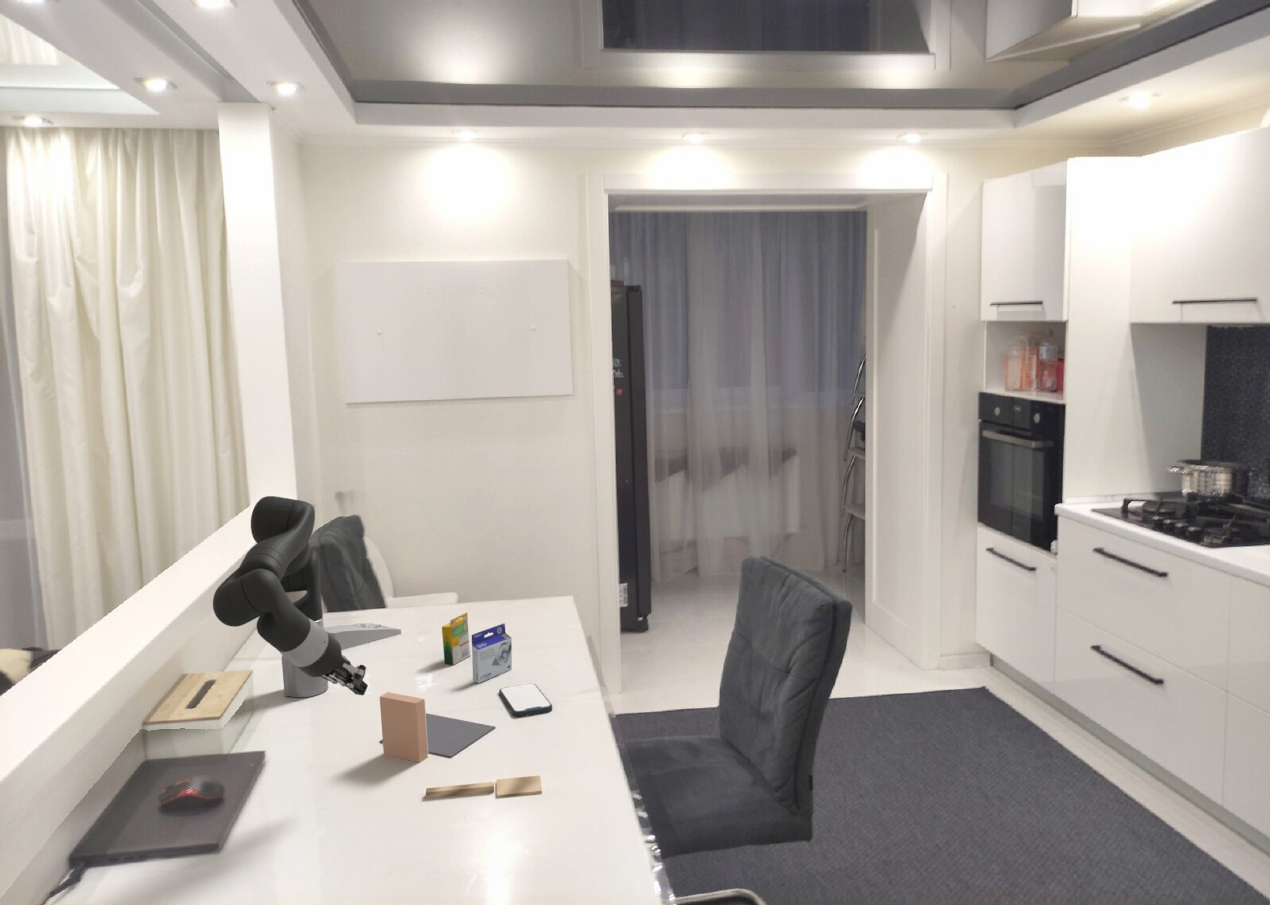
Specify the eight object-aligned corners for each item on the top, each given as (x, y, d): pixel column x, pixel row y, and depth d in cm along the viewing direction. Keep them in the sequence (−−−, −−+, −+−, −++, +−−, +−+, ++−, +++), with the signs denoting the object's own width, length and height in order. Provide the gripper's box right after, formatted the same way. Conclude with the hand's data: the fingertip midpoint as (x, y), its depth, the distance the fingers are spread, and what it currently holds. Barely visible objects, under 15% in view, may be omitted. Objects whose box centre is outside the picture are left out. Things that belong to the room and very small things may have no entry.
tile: (383, 754, 191) (379, 696, 190) (393, 748, 194) (389, 691, 192) (419, 762, 187) (415, 703, 186) (429, 756, 190) (425, 697, 188)
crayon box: (460, 654, 248) (458, 610, 246) (470, 656, 246) (468, 612, 245) (443, 664, 241) (440, 619, 239) (453, 665, 240) (450, 620, 238)
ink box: (479, 684, 227) (476, 637, 225) (472, 682, 228) (469, 635, 227) (513, 669, 236) (511, 623, 234) (506, 667, 237) (504, 622, 236)
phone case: (497, 695, 222) (514, 719, 207) (497, 688, 222) (513, 712, 207) (535, 689, 225) (554, 713, 210) (535, 682, 225) (554, 705, 210)
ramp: (397, 626, 274) (396, 608, 273) (405, 643, 259) (404, 623, 258) (293, 641, 264) (291, 621, 263) (295, 659, 249) (293, 639, 249)
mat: (379, 742, 197) (379, 740, 197) (426, 714, 210) (426, 713, 210) (451, 757, 189) (451, 756, 189) (495, 728, 202) (495, 726, 202)
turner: (425, 804, 171) (424, 798, 171) (427, 788, 177) (427, 782, 176) (541, 793, 174) (541, 787, 173) (540, 777, 179) (539, 771, 179)
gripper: (347, 630, 165) (399, 676, 178) (290, 622, 171) (344, 667, 184) (327, 670, 161) (381, 714, 174) (269, 661, 167) (326, 704, 180)
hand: (362, 690), depth 179 cm, fingers closed
